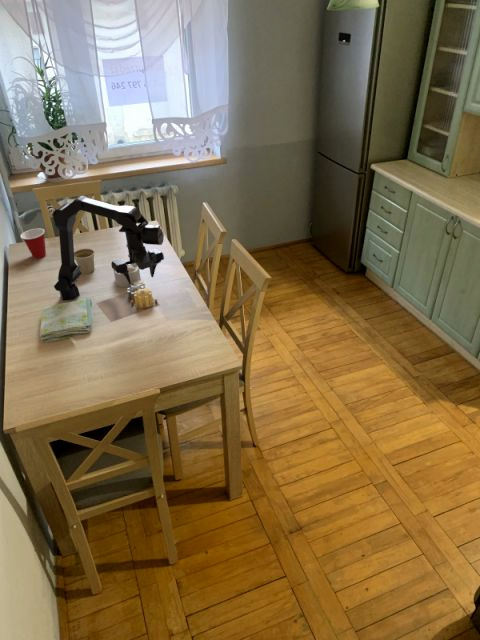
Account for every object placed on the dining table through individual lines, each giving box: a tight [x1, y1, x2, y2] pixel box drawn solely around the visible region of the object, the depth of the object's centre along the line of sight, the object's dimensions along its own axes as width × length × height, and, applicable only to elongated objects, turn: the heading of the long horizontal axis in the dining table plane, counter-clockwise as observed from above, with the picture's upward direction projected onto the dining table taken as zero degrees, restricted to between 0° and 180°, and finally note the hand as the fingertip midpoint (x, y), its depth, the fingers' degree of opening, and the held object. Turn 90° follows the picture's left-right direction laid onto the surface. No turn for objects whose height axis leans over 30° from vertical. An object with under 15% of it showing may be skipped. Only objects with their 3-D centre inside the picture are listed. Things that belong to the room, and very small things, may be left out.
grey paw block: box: [112, 258, 142, 288], centre depth 197 cm, size 10×13×9 cm
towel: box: [39, 297, 93, 343], centre depth 172 cm, size 18×21×5 cm
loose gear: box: [134, 287, 153, 308], centre depth 180 cm, size 7×7×6 cm
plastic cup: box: [19, 227, 47, 260], centre depth 218 cm, size 11×11×12 cm
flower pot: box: [74, 247, 96, 274], centre depth 206 cm, size 9×9×9 cm
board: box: [95, 292, 160, 323], centre depth 182 cm, size 20×16×3 cm
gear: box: [126, 285, 144, 299], centre depth 186 cm, size 7×7×4 cm
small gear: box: [134, 280, 146, 288], centre depth 192 cm, size 4×4×3 cm
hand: (141, 280), depth 176 cm, fingers open, 9 cm apart
